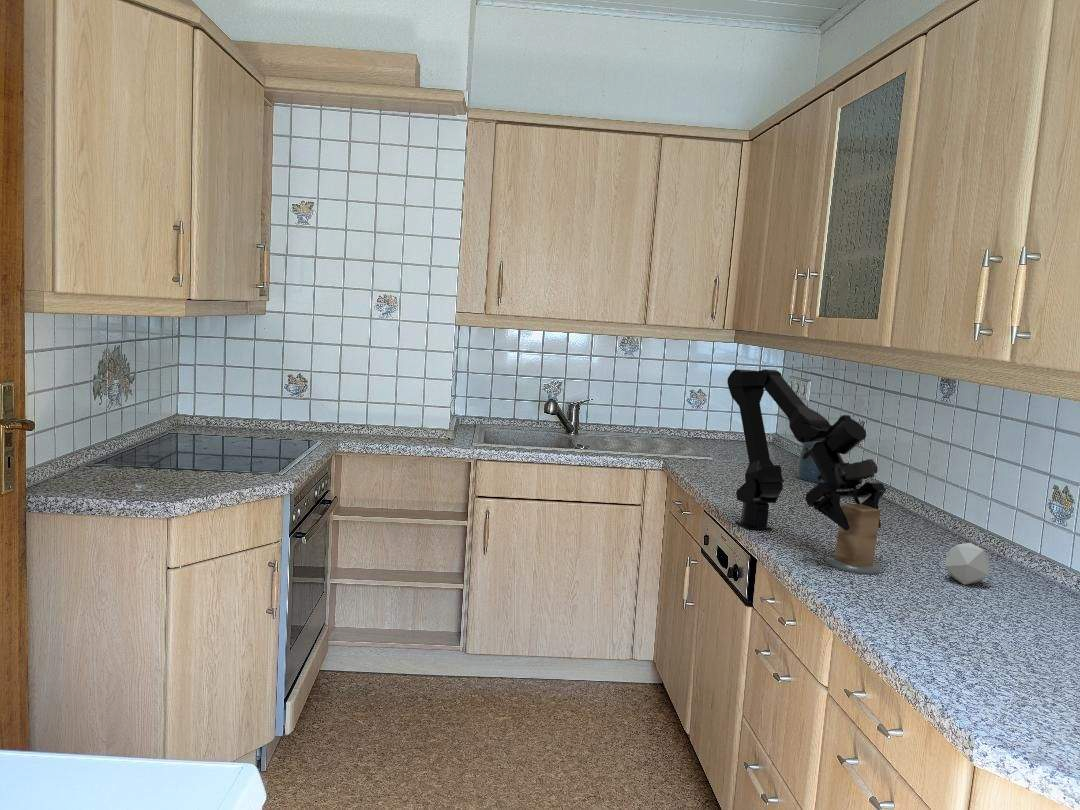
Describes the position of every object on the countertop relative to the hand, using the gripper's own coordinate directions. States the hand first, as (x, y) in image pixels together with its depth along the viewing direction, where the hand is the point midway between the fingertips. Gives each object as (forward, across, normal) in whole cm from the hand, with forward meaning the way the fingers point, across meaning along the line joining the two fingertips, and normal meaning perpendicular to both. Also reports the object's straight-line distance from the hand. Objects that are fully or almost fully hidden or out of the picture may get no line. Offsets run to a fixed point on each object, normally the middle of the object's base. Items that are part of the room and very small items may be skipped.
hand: (863, 528), depth 183 cm
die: (+15, +18, -2) cm, 23 cm away
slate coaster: (+5, 0, +7) cm, 9 cm away
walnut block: (+4, 0, +6) cm, 8 cm away
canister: (-50, +68, +63) cm, 105 cm away
